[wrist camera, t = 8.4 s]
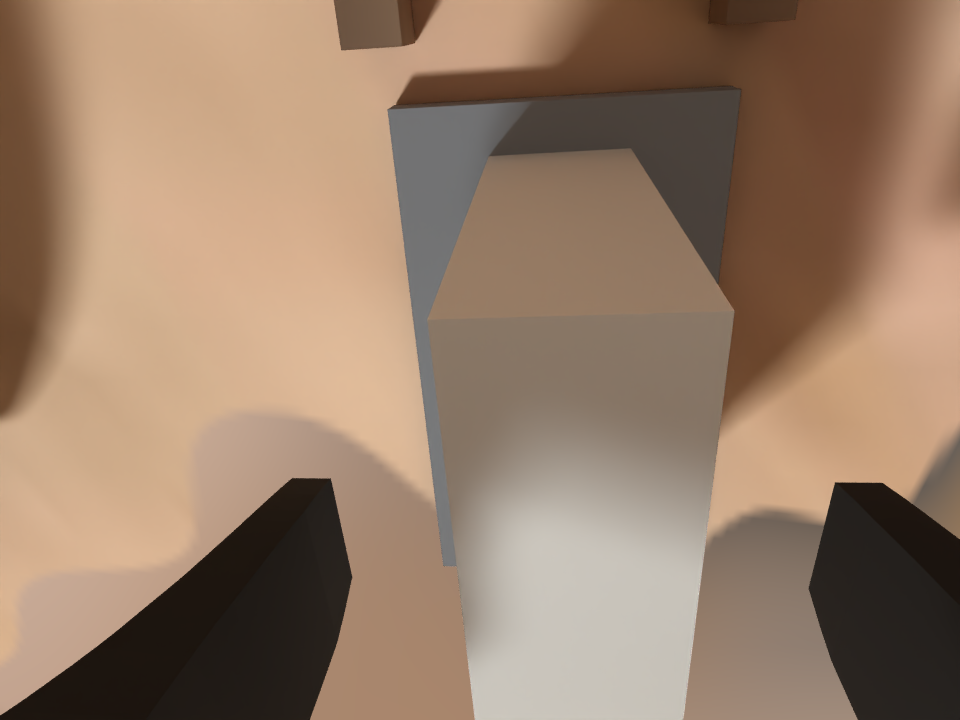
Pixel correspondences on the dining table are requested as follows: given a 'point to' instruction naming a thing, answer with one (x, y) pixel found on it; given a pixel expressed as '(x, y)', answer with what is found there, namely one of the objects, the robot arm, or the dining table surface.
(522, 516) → the block
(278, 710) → the robot arm
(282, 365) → the dining table surface
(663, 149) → the mat
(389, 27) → the rack
